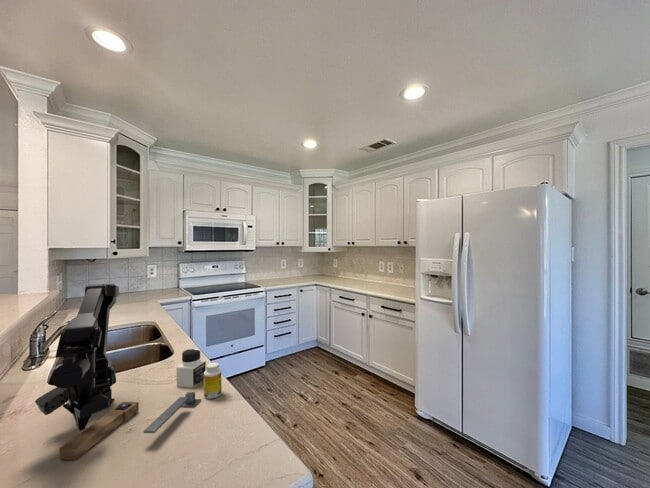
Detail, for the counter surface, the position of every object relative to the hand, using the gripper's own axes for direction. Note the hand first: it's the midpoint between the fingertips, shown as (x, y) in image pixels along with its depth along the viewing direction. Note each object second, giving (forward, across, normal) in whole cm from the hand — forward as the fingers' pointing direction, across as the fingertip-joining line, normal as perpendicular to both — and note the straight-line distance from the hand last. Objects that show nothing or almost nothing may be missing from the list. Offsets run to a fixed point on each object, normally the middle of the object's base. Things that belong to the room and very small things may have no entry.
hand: (81, 429), depth 75 cm
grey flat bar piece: (+2, +15, +16) cm, 22 cm away
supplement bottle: (+2, +13, +31) cm, 34 cm away
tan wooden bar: (+1, +4, +3) cm, 5 cm away
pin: (+2, 0, +10) cm, 10 cm away
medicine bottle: (+2, -1, +33) cm, 33 cm away
